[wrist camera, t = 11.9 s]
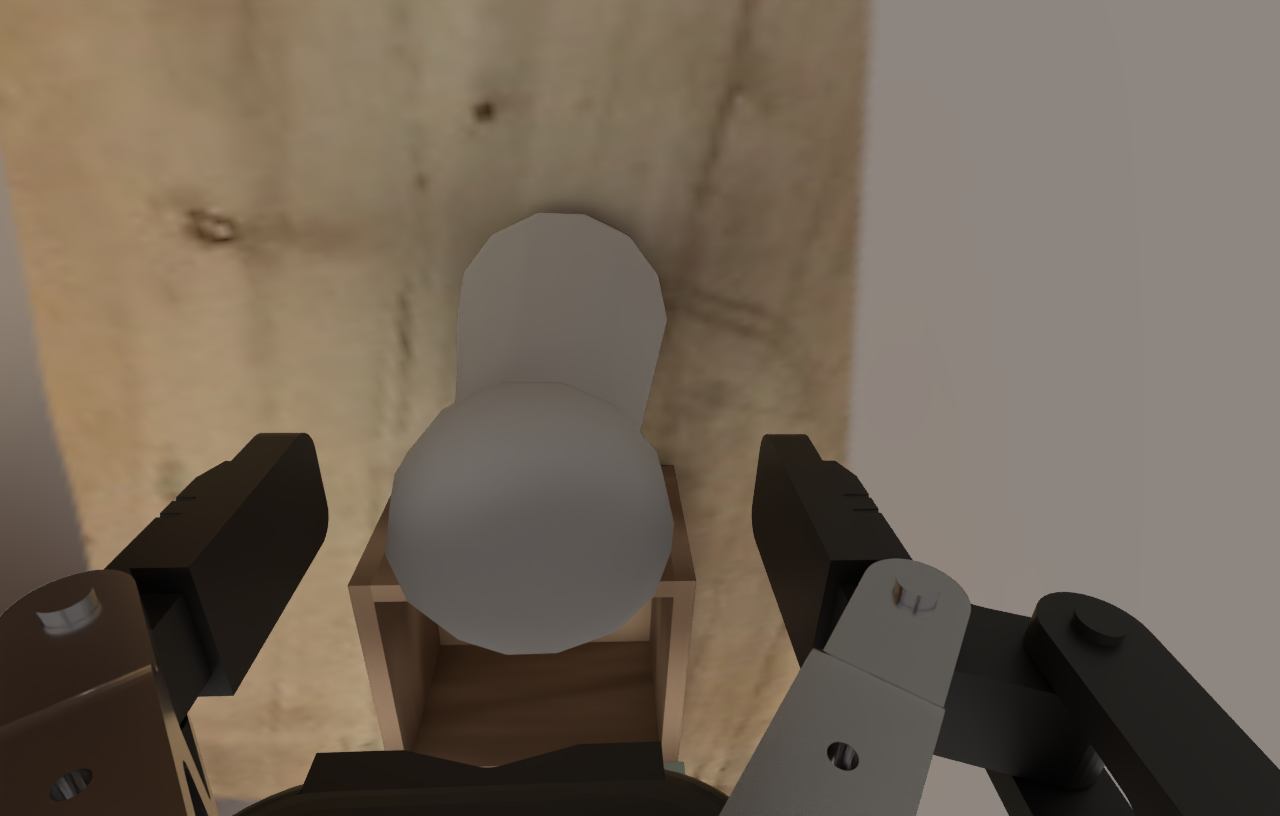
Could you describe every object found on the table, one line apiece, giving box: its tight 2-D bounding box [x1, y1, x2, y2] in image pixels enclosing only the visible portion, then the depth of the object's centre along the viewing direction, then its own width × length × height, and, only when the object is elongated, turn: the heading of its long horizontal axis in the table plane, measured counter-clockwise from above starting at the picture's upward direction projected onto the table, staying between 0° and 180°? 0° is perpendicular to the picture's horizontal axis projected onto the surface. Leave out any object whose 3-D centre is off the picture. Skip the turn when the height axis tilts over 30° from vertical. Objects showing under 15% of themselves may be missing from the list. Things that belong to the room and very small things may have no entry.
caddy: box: [348, 466, 696, 768], centre depth 25 cm, size 17×10×6 cm, turn 178°
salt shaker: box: [385, 213, 674, 655], centre depth 15 cm, size 6×6×13 cm
